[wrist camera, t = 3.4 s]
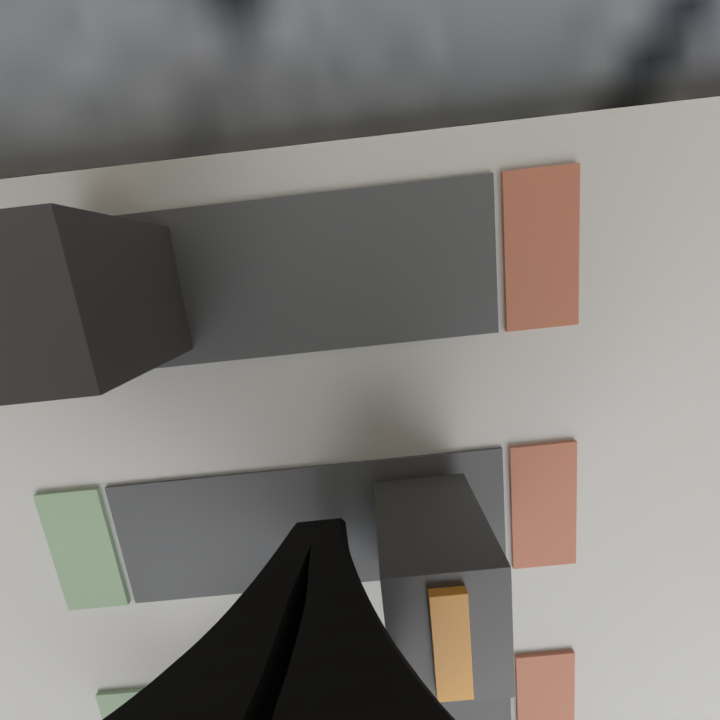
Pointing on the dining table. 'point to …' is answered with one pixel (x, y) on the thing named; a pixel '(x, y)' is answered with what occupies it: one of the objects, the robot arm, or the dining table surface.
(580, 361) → the panel
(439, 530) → the breaker
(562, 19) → the dining table surface
